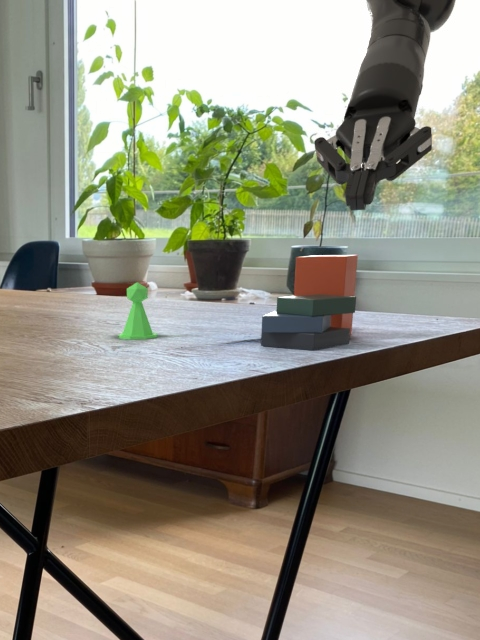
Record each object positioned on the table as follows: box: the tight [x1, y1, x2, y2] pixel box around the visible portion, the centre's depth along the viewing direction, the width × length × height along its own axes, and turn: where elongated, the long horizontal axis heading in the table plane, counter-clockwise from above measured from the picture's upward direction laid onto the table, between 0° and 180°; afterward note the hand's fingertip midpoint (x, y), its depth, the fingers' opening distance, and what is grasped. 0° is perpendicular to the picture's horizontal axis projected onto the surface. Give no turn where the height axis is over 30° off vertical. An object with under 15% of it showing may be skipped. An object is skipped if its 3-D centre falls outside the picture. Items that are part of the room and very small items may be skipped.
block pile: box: [260, 294, 357, 351], centre depth 80 cm, size 8×8×4 cm
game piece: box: [118, 281, 158, 340], centre depth 86 cm, size 4×4×6 cm
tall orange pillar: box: [293, 254, 359, 336], centre depth 85 cm, size 5×5×8 cm
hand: (357, 204), depth 88 cm, fingers closed
